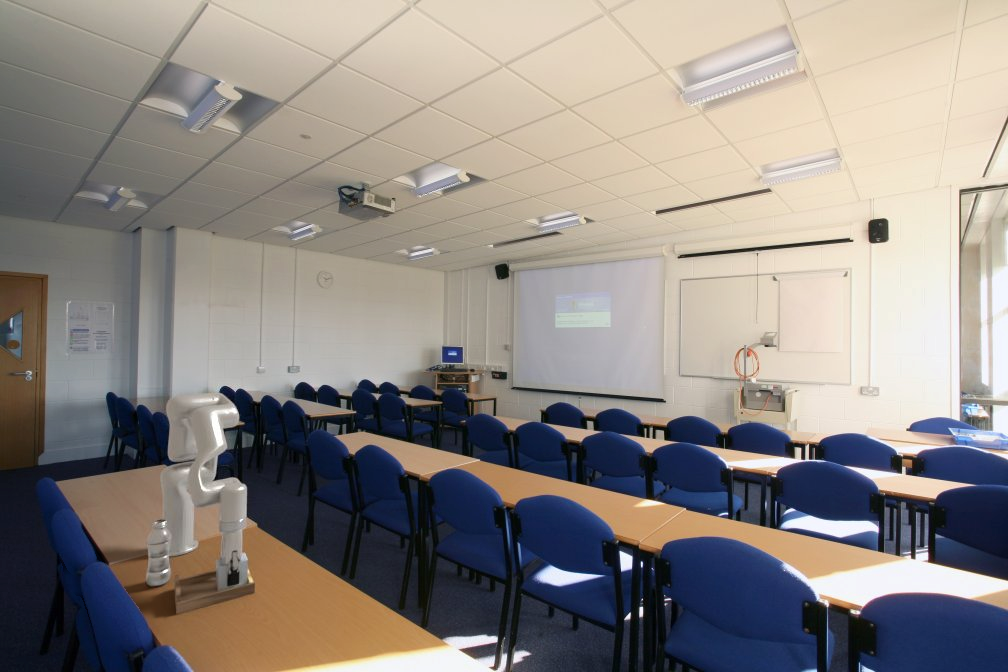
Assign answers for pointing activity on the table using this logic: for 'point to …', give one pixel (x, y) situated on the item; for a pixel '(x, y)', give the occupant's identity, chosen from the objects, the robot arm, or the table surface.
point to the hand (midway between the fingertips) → (231, 579)
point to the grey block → (223, 570)
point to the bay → (206, 591)
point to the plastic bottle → (158, 554)
